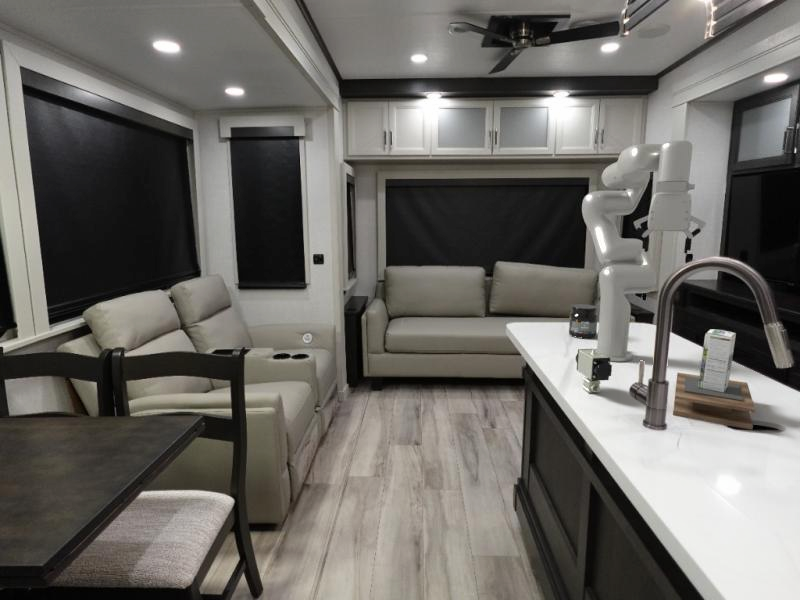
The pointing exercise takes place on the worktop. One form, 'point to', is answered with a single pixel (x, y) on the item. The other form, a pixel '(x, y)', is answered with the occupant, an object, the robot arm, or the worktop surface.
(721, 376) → the syrup box
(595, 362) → the pneumatic valve
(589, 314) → the supplement container
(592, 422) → the worktop surface
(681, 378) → the walnut stand
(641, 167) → the robot arm
